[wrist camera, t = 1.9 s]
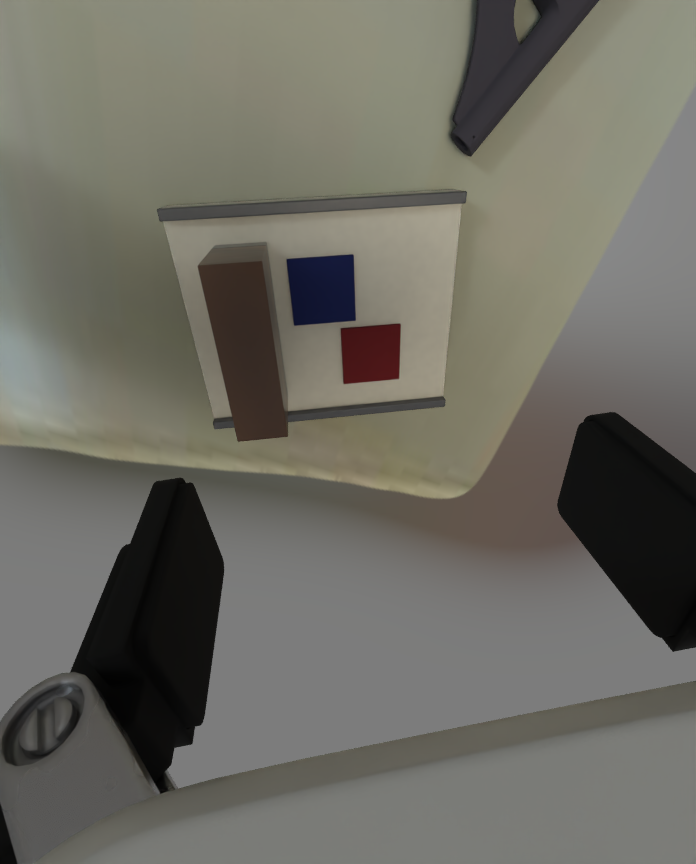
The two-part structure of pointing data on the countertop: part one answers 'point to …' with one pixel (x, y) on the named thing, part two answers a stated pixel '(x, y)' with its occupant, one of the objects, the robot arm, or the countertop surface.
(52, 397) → the countertop surface
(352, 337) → the smudge maroon
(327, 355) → the memo board
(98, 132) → the countertop surface
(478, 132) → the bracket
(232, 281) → the eraser
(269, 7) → the countertop surface
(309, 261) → the smudge navy
